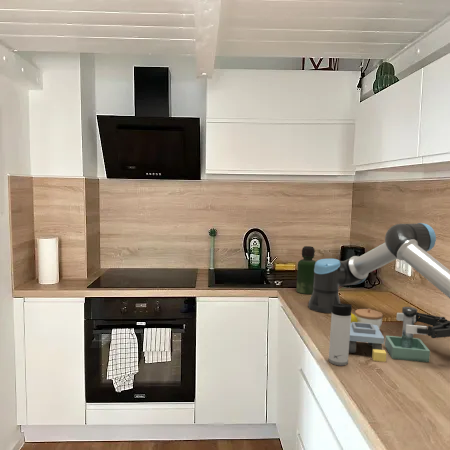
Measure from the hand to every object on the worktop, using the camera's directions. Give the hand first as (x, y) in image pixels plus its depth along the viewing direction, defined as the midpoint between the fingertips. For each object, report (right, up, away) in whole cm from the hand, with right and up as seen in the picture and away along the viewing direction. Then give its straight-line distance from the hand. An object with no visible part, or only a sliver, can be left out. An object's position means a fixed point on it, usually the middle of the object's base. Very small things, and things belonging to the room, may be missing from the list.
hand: (401, 322), depth 150 cm
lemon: (-12, -9, +21) cm, 26 cm away
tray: (+2, -11, +1) cm, 12 cm away
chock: (-10, -12, -5) cm, 16 cm away
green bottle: (-18, -3, +83) cm, 85 cm away
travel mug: (-24, -12, -8) cm, 28 cm away
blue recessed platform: (-13, -10, +4) cm, 17 cm away
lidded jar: (-4, -9, +23) cm, 25 cm away
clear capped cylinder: (+2, -11, +1) cm, 11 cm away
